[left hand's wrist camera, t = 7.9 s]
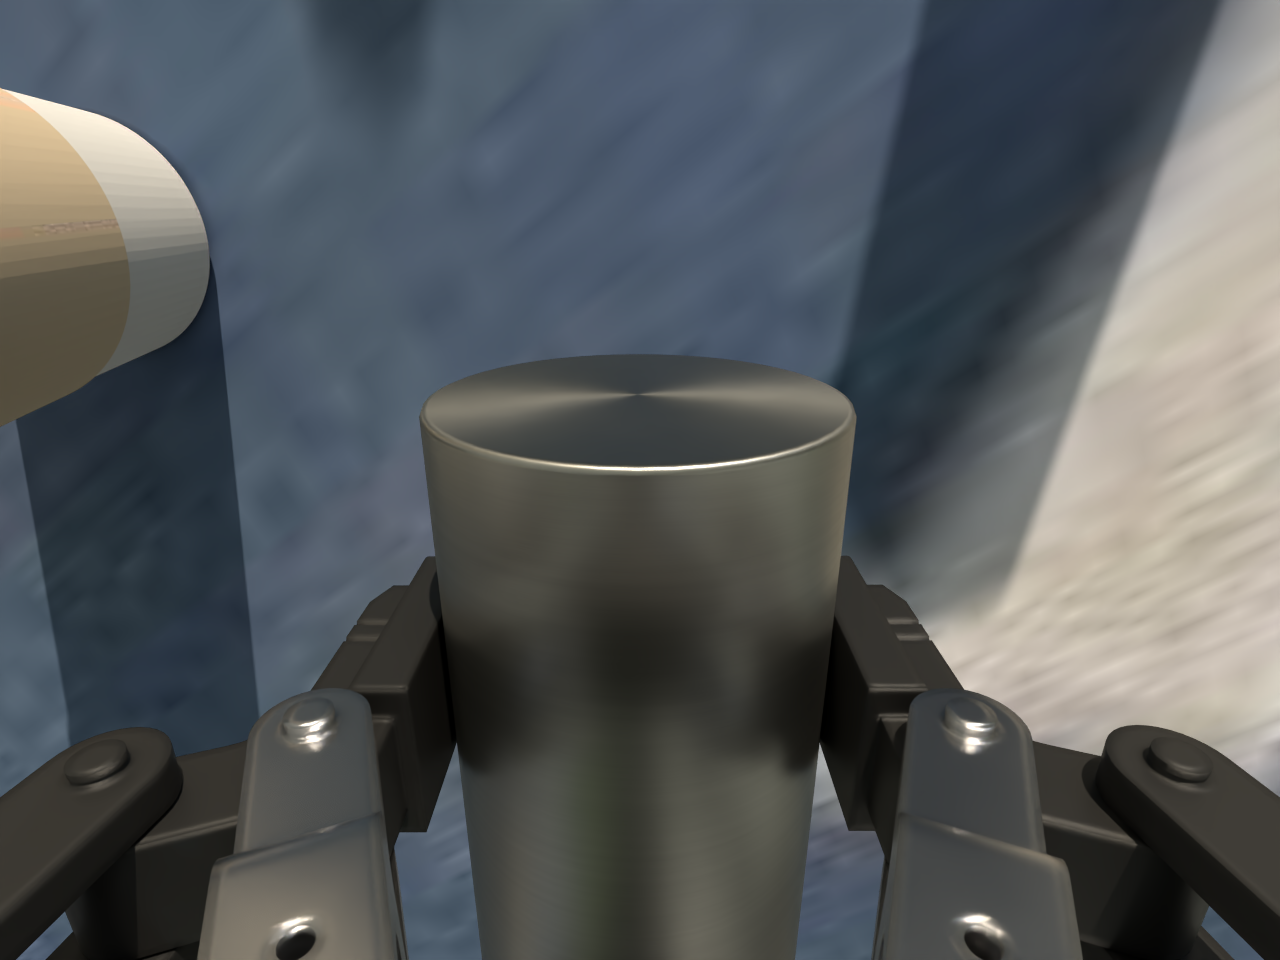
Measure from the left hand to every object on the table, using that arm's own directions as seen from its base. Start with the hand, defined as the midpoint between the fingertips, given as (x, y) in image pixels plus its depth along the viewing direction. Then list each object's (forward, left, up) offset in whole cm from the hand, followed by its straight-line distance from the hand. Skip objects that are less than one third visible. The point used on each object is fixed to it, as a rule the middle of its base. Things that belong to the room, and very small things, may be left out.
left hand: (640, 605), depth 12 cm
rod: (-3, +6, -1) cm, 7 cm away
